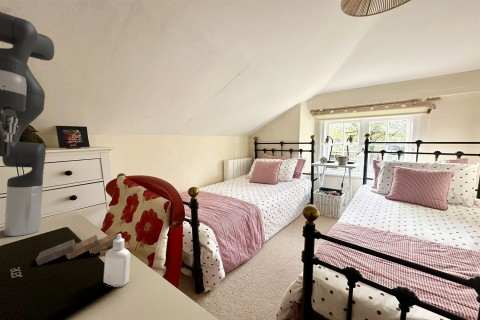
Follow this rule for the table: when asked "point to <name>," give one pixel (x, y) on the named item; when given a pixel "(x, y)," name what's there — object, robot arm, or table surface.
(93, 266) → the table surface
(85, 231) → the table surface
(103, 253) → the domino
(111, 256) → the eye dropper bottle
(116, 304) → the table surface
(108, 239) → the domino
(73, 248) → the loose domino
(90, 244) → the domino
